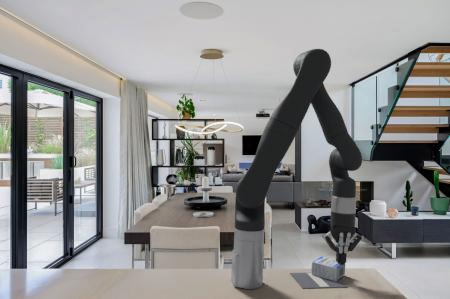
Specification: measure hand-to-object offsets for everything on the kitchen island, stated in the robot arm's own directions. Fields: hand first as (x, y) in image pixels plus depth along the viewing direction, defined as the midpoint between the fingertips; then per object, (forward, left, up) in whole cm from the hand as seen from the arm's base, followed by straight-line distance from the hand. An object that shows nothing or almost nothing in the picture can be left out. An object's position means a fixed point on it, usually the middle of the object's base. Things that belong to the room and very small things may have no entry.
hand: (341, 263), depth 112 cm
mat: (-7, +1, -6) cm, 9 cm away
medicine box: (+1, +1, -3) cm, 4 cm away
